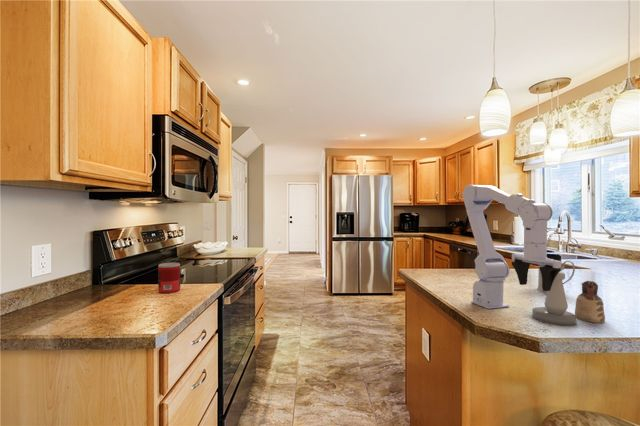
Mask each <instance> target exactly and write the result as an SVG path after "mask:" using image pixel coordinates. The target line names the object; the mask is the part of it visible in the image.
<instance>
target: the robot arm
mask: <svg viewBox="0 0 640 426" xmlns="http://www.w3.org/2000/svg"><path fill="white" fill-rule="evenodd" d="M461 197H462V199H463V202H464V206H465V210H466V215H467V217H468V221H469V224H470V228H471V230H472V235H473V238H474V241H475V244H476V247H477V251H478V255H477V256H476V257H475V259H474V265H475V267H474V268H475V269H474V270H475V274H476V276H477V277H478V280H476V281H475V282H474V283H473V286H472V300H471V301H470V302H471V303H473V304H474V305H477V306H480V307H482V308H484V309H499V308H508V307H510V305H509V304H507V303H505V302H504V285H505V284H504V281H505V282H506V278H507V277H508V276H509V275H510V266H509V265H508V263H507V262H506V260H505V258H504V256H503V255H502V254H501V253H499V252H497V251H496V248H495V245H494V242H493V239H492V236H491V232H490V230H489V227H488V223H487V220H486V218H485V215H484V211H485V210H486V209H487V208H488V207H489V206H490V204H491V203H492V202H493V200H494V201H496V202H498V203H501V204H503V205H504V206H505V209H506V210H507V211H509V212H512V213H514V214H516V215H517V216H519V218H520V219H521V220H522V226H523V228H524V229H523V230H524V232H523V254H520V253H511V265H512V267H513V268H514V270H515V273H516V276H517V279H518V282H519V283H518V284H519V285H521V286H523V285H525V286H526V285H527V284H528V277H529V276H528V274H529V273H528V272H529V269H530V267H531V264H534V265H538V270H539V269H540V271H541V275H542V289H543V291H542V292H544V291H550V290H551V286H552V284H553V281H554V279H555V277H556V276H557V274H558V273H559V272H560V270H561V268H562V266H563V263H562V260H561V261H558V260H553V259H549V258H547V254H548V253H547V251H548V250H547V249H548V222H549V221H550V220H551V219H552V217H553V212H554V211H553V208H552V206H551V205H549V204H547V203H546V202H540V203H539V202H536V199H533V198H532V199H531V198H530V199H529V198H526V197H525V196H524V194H523V193H513V194H509V193H506V192H505V191H503V190H501V189H499V188H497V186H496V185H495V186H494V185H491V184H487V185H486V184H472V183H471V184H467V185H466V186H465V187H464V189H463V192H462V195H461ZM539 265H544V266H545V267H539Z"/></svg>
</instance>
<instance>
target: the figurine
mask: <svg viewBox="0 0 640 426" xmlns="http://www.w3.org/2000/svg"><path fill="white" fill-rule="evenodd" d="M598 291H599V285H598V284H597V282H595V281H593V280H586V281H584V282H582V283H581V293H580V294H579V295H577V297H576V299H575V309H574V315H576V319H578V320H582V321H585V322H589V323H596V324H597V323H599V324H602V323H605V322H606V321H605V320H606V315H605V309H604V301H603V300H602V297H600V296H599V295H598Z"/></svg>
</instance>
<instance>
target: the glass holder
mask: <svg viewBox="0 0 640 426" xmlns="http://www.w3.org/2000/svg"><path fill="white" fill-rule="evenodd" d="M547 258H549V259H553V260H558V261H562V255H560V254H557V253H556V254H553V253H547ZM566 263H570V264H571V265H572V272H571V275H570V277H569V279H567V280H565V281H564V282H563V285H565V284H567V283H568V282H569V281H571V280H572V278H573V277H574V275H575V271H576V270H575V269H576V268H575V267H576V266H575V263H574V262H573V261H571V260H565V261H564V262H563V263H562V265H561V270H560V271H561V272H563V271H564V270H565V264H566ZM539 267H545V266H544V265H539V264H538V279H537V280H538V281H537V288H536V289H537V290H538V291H540V290H541V291H540V292H544V291H543V289H542V275H541V271H540V269H539ZM544 293H547V291H545V292H544Z"/></svg>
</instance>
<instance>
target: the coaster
mask: <svg viewBox="0 0 640 426" xmlns="http://www.w3.org/2000/svg"><path fill="white" fill-rule="evenodd" d="M531 311H532V312H531V314H532V315H531V316H532V318H534V319H535V320H537V321H540V322H543V323H546V324H549V325H550V324H551V325H556V326H564V327H565V326H567V327H571V326H575V325H577V317H576V315H575V313H572V312H570V311H567V310H566V311H565V313H564V315H556V314H551V313H549V312H548V311H547V309H546V307H544V306H543V307H542V306H541V307H540V306H537V307H533V308H532V310H531Z"/></svg>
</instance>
